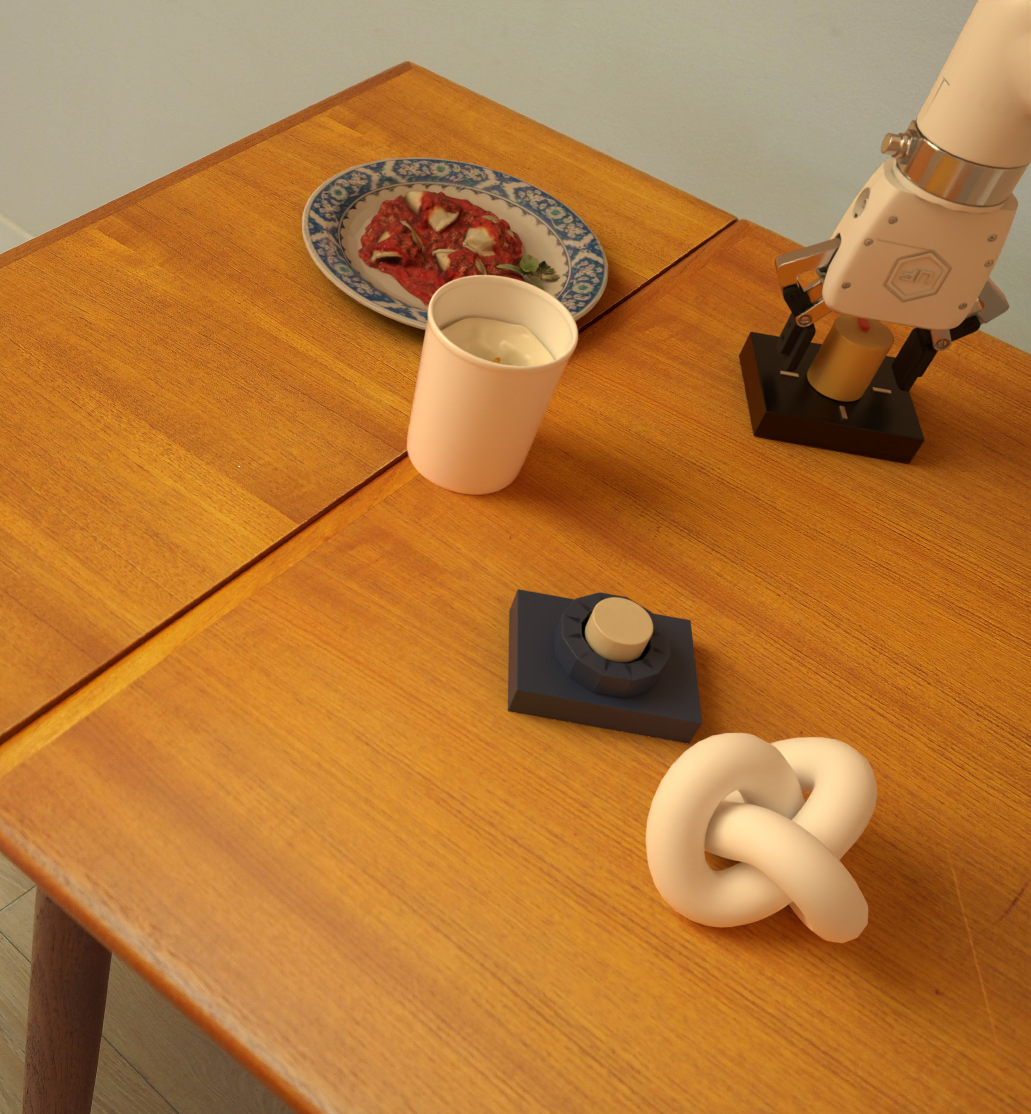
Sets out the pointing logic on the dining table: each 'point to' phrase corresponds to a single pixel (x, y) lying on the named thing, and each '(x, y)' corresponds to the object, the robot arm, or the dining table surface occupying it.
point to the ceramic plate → (446, 235)
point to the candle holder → (486, 380)
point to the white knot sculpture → (763, 832)
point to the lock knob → (849, 357)
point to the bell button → (618, 629)
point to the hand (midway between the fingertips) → (843, 369)
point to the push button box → (600, 671)
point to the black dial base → (827, 407)
